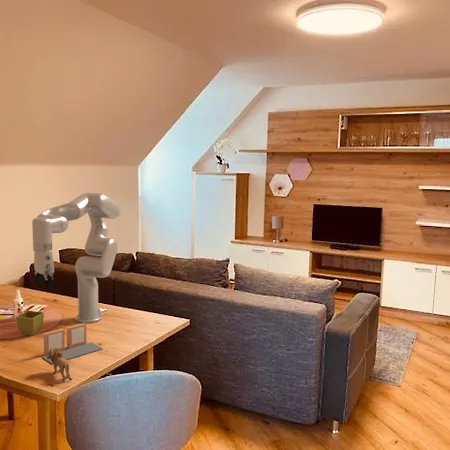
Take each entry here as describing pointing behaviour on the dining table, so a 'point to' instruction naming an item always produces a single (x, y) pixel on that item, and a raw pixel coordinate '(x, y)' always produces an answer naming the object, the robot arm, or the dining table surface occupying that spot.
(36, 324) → the flower pot
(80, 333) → the tile
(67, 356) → the felt mat
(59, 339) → the tile
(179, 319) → the dining table surface
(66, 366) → the lion figurine
